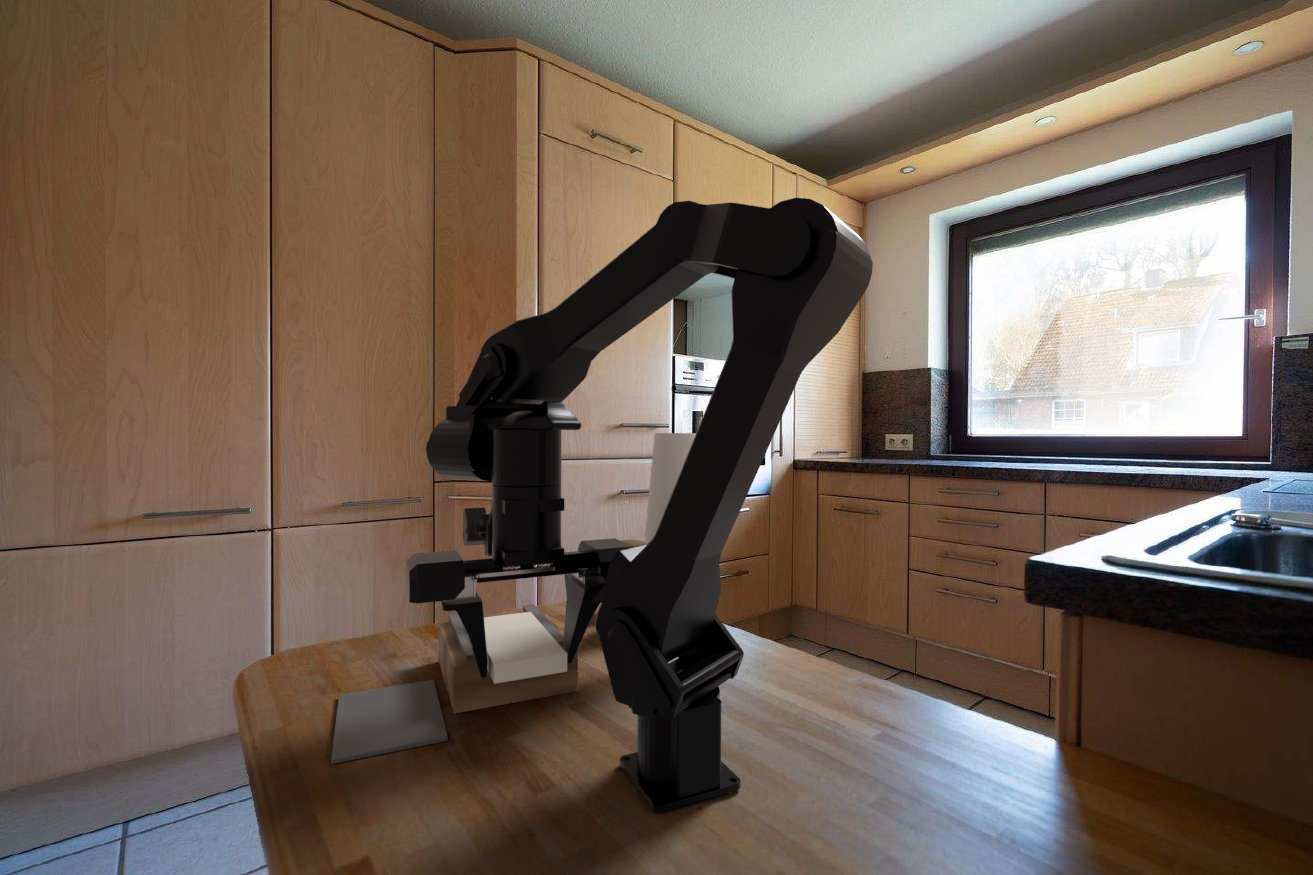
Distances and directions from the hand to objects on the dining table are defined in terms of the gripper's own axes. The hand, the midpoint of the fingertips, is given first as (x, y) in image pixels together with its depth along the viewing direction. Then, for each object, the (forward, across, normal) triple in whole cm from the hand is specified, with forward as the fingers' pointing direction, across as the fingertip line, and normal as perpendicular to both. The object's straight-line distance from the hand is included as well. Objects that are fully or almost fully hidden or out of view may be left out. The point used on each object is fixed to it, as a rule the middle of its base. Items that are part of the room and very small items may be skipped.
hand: (526, 668), depth 51 cm
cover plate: (0, 0, -5) cm, 5 cm away
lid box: (+4, 0, -10) cm, 10 cm away
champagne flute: (+4, -18, -6) cm, 19 cm away
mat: (+4, +10, -4) cm, 12 cm away
